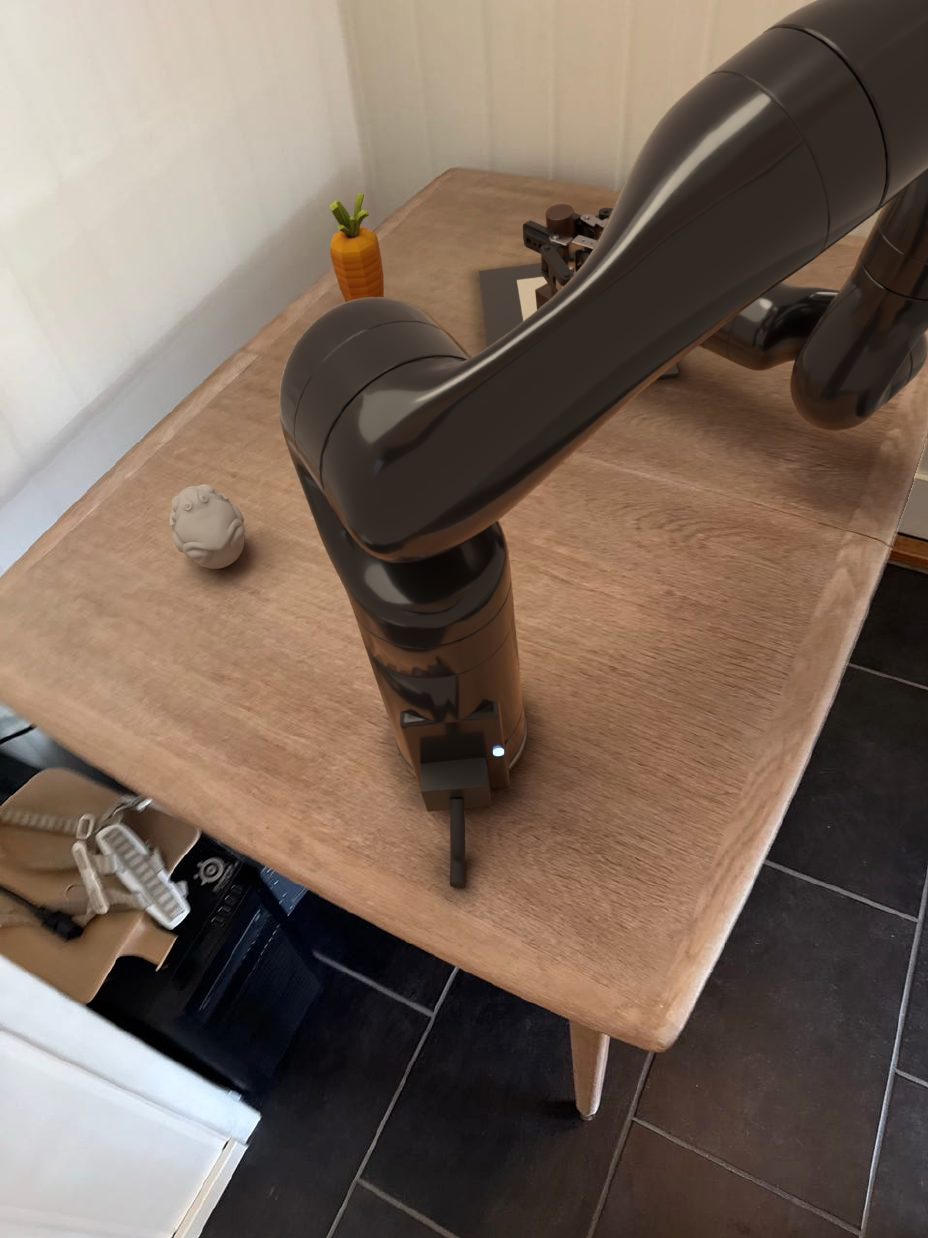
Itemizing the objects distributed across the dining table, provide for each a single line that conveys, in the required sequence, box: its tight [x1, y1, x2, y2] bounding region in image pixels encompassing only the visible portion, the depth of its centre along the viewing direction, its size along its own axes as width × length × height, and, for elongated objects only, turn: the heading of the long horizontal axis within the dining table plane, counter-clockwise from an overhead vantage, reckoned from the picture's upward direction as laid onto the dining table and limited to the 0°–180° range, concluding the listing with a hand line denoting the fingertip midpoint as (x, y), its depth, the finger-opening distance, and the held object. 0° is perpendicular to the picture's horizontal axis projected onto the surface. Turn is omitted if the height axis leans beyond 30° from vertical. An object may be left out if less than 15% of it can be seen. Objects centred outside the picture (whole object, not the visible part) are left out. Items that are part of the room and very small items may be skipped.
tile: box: [478, 262, 680, 380], centre depth 91 cm, size 22×18×1 cm
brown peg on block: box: [535, 203, 575, 310], centre depth 85 cm, size 5×4×12 cm
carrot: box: [329, 192, 385, 302], centre depth 88 cm, size 5×5×15 cm
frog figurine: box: [169, 483, 246, 570], centre depth 74 cm, size 6×7×7 cm
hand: (538, 224), depth 83 cm, fingers closed on brown peg on block, 2 cm apart
